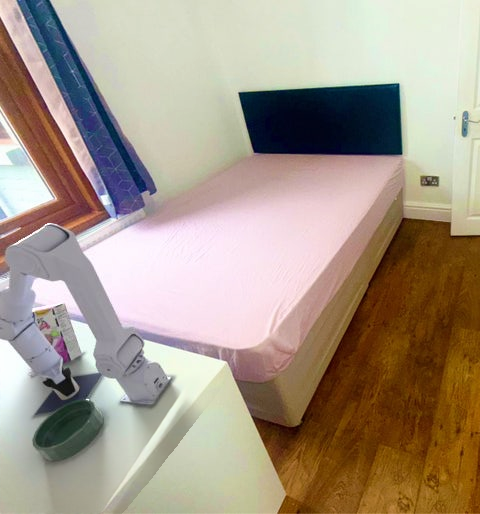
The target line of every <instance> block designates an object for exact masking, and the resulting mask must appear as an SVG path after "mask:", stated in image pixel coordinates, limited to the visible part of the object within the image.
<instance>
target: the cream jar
mask: <svg viewBox="0 0 480 514" xmlns="http://www.w3.org/2000/svg"><path fill="white" fill-rule="evenodd" d="M72 377H73V376H71V380H72V383H73V385H74V387H75V392H74V393H72V394H71V395H69V396H68V397H67V396H65V395H63V394H62V393H60V392H59V391H57V390H56V389H53V388H51V389H52V391H53V390H54V391H55V392H56V394H57V395H58V396H59V397H60V398H61V399H62V400H66V399H69V398H71V397H73V396H74V395H75V394H76V393H77V392H78V391H79V386H78V385H77V383H76V382H75V381H74V379H73V378H72Z"/></svg>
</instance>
